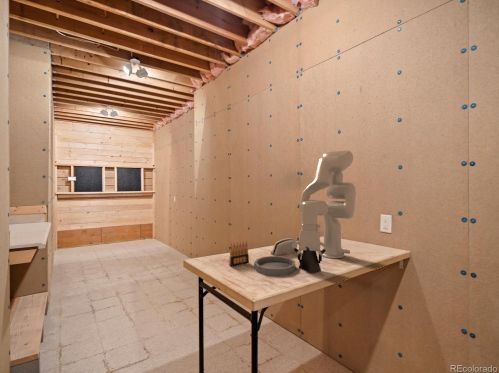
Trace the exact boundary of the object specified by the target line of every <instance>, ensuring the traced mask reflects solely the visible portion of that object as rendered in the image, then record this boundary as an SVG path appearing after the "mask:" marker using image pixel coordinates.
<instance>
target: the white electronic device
mask: <svg viewBox="0 0 499 373" xmlns="http://www.w3.org/2000/svg"><path fill="white" fill-rule="evenodd" d="M297 241H298V240H296V239H294V238H290V237H288V238H287V237H286V238H282V239H279V240H278V241H275V243H274V245H273V248H272V250H271V251H270V254H271V255H273V256H280V255H285V254H290V253H294V252H295V251H294V249H293V247H292V244H293V243H295V242H297ZM295 247H296V248H297V249H298V245H296V246H295ZM295 253H296V252H295Z"/></svg>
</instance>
